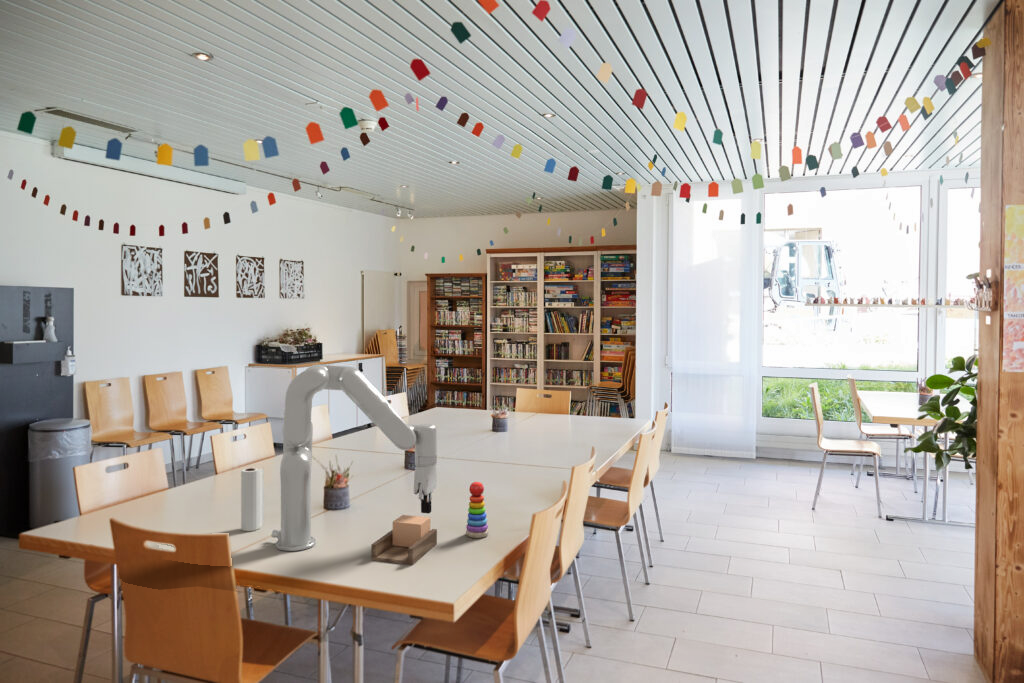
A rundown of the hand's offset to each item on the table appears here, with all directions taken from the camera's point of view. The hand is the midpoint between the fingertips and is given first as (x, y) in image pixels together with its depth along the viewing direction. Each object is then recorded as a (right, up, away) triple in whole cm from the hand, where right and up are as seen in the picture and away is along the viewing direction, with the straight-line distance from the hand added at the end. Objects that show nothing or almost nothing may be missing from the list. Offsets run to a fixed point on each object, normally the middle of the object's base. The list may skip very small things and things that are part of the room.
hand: (426, 512), depth 236 cm
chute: (-5, -9, -16) cm, 19 cm away
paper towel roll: (-62, -7, +5) cm, 63 cm away
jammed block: (-3, -7, -11) cm, 14 cm away
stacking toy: (+18, -9, +2) cm, 20 cm away
